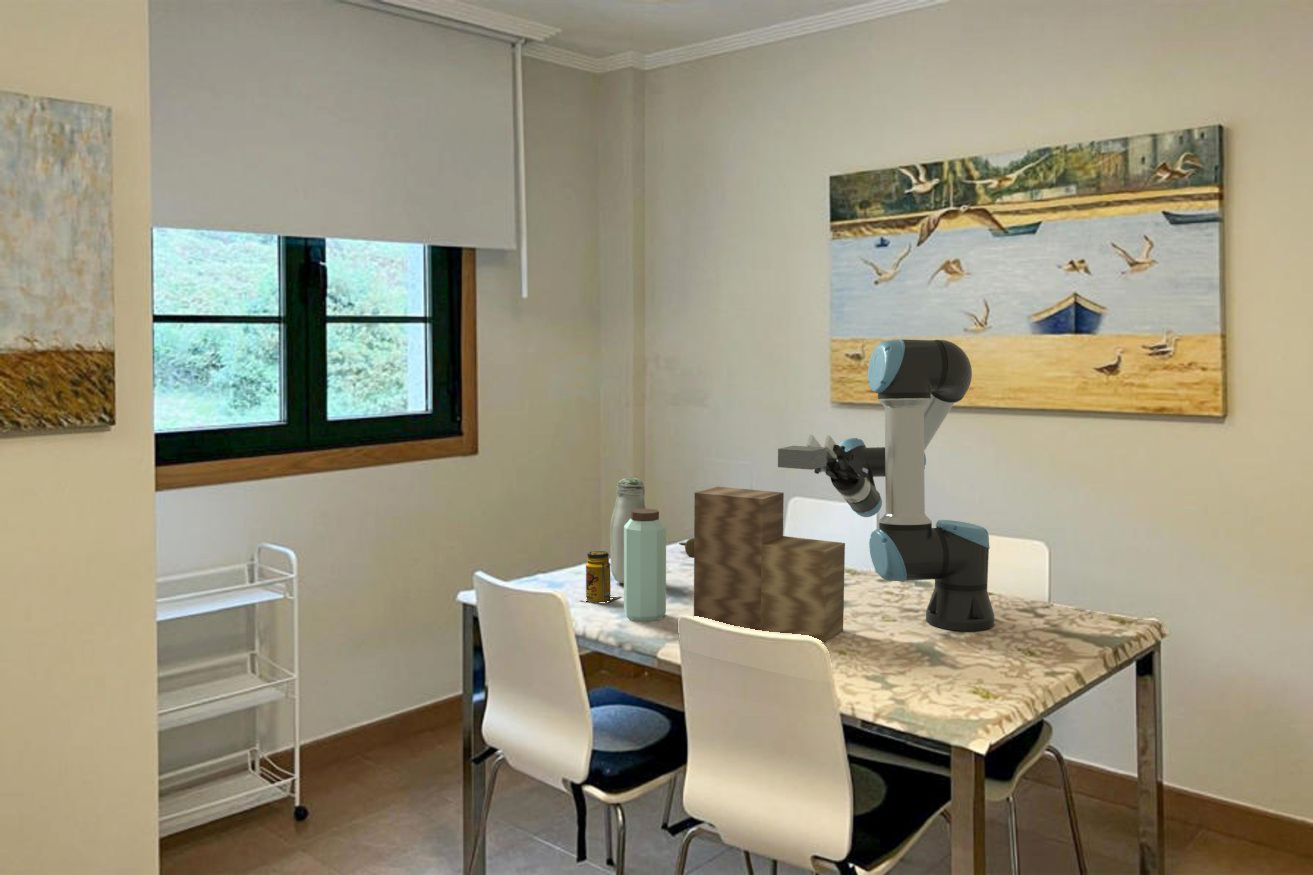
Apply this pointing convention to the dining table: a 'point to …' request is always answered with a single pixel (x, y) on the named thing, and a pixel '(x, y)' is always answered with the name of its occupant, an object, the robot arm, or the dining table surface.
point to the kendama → (689, 547)
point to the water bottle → (644, 566)
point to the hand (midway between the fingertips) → (818, 440)
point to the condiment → (598, 577)
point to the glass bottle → (623, 520)
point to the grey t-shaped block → (803, 457)
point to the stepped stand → (763, 567)
